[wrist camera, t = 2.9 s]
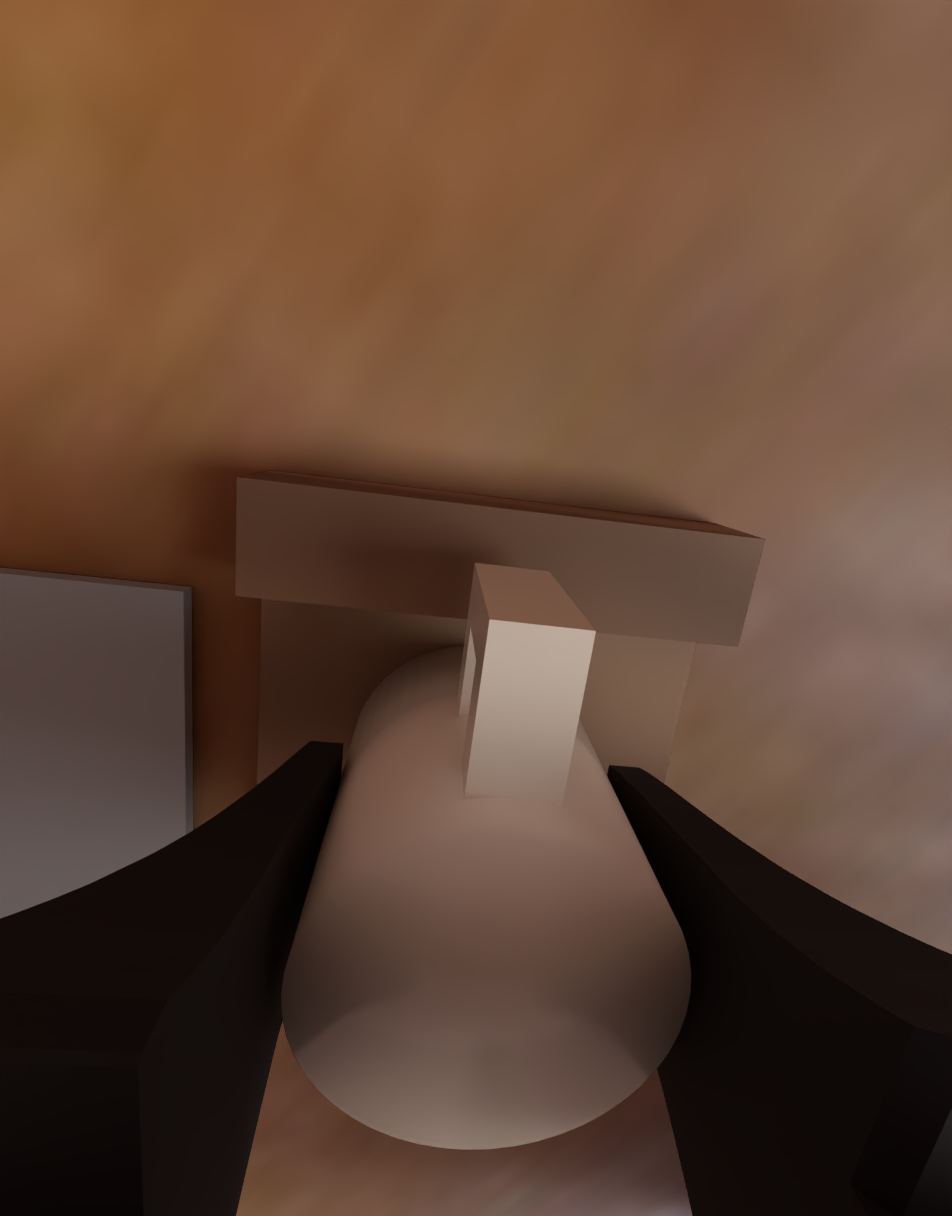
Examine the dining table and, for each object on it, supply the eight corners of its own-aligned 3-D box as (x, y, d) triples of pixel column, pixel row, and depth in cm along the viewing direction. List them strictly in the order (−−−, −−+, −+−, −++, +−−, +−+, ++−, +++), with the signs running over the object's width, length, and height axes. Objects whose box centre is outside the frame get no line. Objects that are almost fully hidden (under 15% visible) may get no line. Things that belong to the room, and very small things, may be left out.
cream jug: (560, 857, 14) (645, 1154, 8) (344, 841, 14) (273, 1143, 8) (621, 555, 12) (787, 668, 6) (370, 525, 12) (300, 616, 6)
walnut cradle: (616, 950, 15) (642, 1024, 13) (257, 931, 15) (229, 1006, 13) (715, 523, 12) (765, 539, 10) (270, 470, 12) (236, 476, 10)
